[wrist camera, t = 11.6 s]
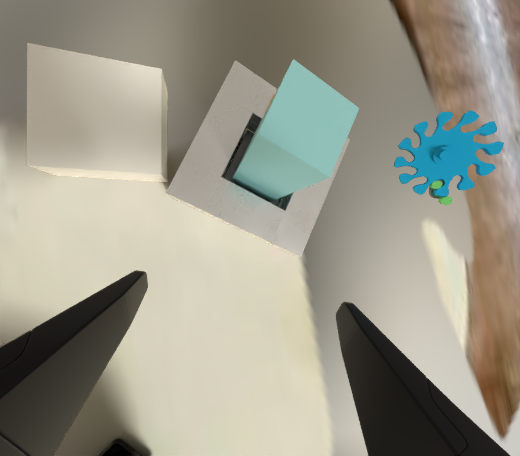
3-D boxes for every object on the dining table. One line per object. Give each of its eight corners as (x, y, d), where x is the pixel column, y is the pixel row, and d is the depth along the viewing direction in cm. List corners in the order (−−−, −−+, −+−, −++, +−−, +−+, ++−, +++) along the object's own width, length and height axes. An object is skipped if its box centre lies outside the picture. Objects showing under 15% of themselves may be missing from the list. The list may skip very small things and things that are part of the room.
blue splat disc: (395, 121, 26) (511, 95, 21) (391, 131, 31) (484, 112, 26) (394, 208, 28) (501, 202, 23) (390, 203, 33) (477, 198, 28)
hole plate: (288, 253, 23) (301, 257, 20) (171, 197, 20) (165, 192, 17) (333, 149, 25) (351, 139, 22) (231, 82, 22) (235, 58, 19)
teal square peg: (271, 201, 23) (330, 177, 12) (231, 180, 22) (257, 133, 11) (289, 162, 23) (359, 108, 13) (250, 140, 22) (293, 59, 12)
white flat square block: (167, 182, 20) (161, 174, 17) (55, 175, 18) (26, 165, 15) (167, 91, 20) (161, 68, 17) (56, 73, 18) (27, 42, 15)
